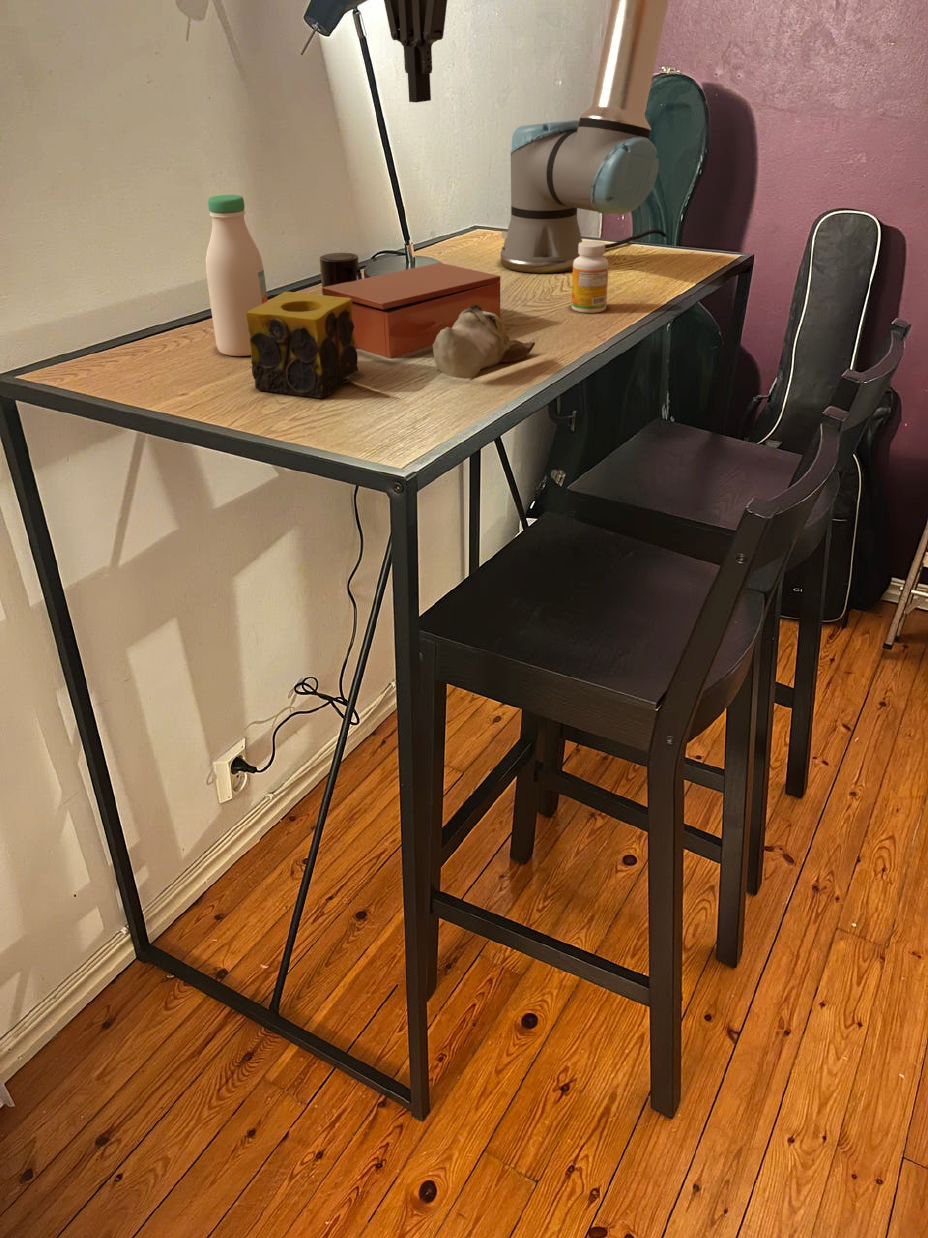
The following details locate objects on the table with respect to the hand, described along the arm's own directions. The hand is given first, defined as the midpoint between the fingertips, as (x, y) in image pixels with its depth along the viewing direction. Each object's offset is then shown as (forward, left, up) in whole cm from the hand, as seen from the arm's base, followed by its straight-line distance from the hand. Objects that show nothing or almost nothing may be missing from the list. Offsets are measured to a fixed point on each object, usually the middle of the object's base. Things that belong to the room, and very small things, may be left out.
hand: (420, 100), depth 138 cm
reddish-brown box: (+7, +5, -30) cm, 31 cm away
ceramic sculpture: (+12, +22, -30) cm, 39 cm away
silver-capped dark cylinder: (+9, -9, -30) cm, 32 cm away
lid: (+8, +5, -23) cm, 24 cm away
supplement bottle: (-21, +14, -30) cm, 39 cm away
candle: (+30, +9, -30) cm, 43 cm away
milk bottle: (+27, -9, -30) cm, 41 cm away
